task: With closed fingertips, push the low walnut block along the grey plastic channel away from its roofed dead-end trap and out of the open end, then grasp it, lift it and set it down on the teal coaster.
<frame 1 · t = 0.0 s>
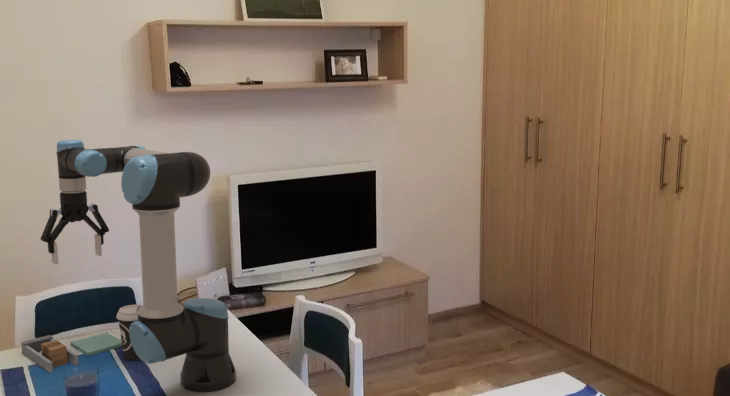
hand: (77, 259, 216), 28 cm above the table, fingers open, 13 cm apart
grey channel: (49, 358, 211), on the table
teal coaster: (97, 345, 221), on the table
coffee cup: (135, 356, 214), on the table
walnut block: (54, 362, 208), resting in grey channel
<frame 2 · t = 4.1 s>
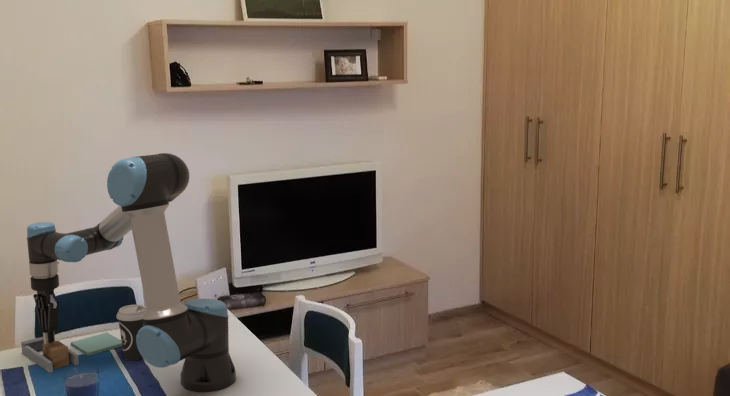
hand: (50, 351, 210), 3 cm above the table, fingers closed
walnut block: (56, 363, 208), resting in grey channel, touching gripper
everything else where it was.
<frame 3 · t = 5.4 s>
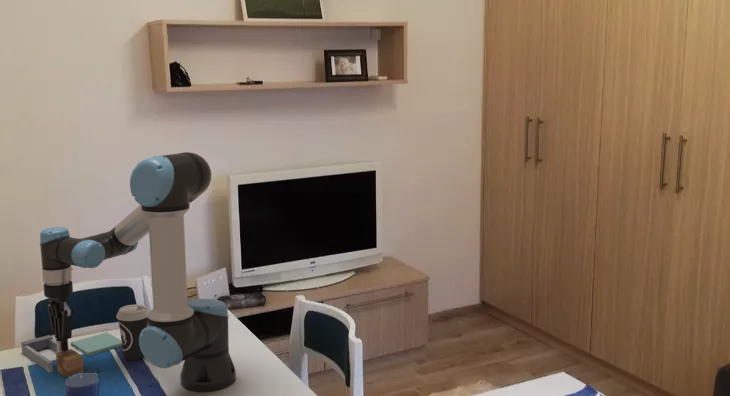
hand: (63, 359, 204), 3 cm above the table, fingers closed
walnut block: (70, 372, 201), on the table, touching gripper
everything else where it was.
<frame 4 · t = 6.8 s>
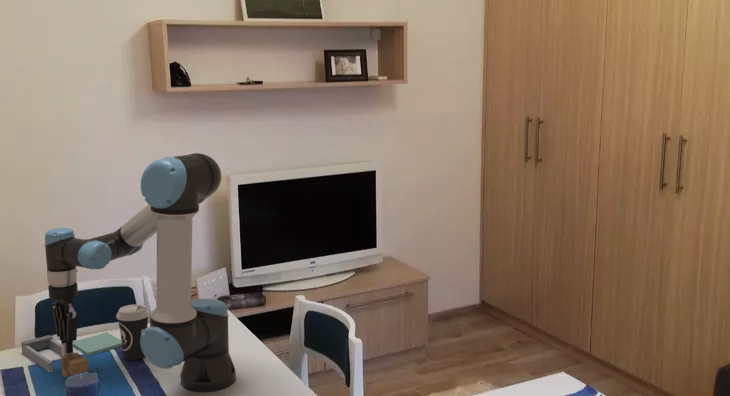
hand: (68, 362, 201), 3 cm above the table, fingers closed
walnut block: (75, 376, 199), on the table, touching gripper
everything else where it was.
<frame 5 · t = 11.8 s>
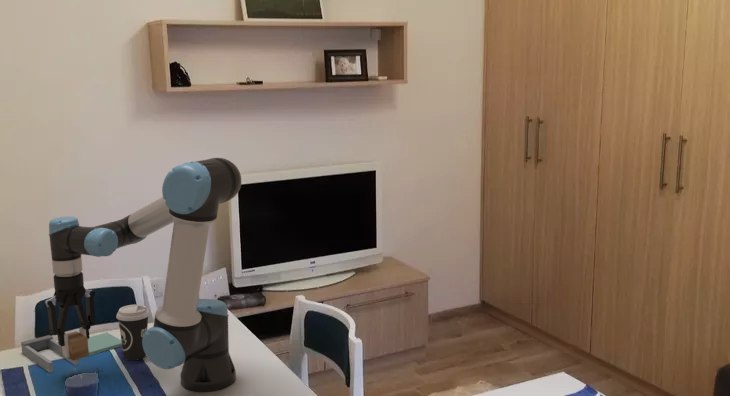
hand: (75, 353, 198), 7 cm above the table, fingers closed on walnut block, 4 cm apart
walnut block: (75, 354, 198), point 6 cm above the table, touching gripper
everything else where it was.
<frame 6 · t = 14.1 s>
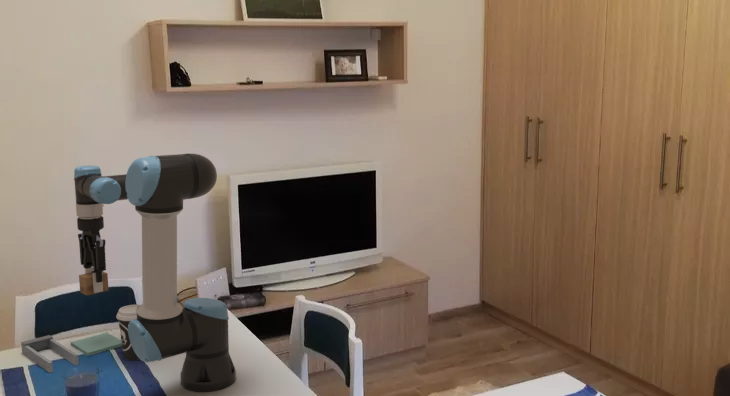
hand: (94, 289, 218), 18 cm above the table, fingers closed on walnut block, 4 cm apart
walnut block: (94, 291, 218), point 18 cm above the table, touching gripper
everything else where it was.
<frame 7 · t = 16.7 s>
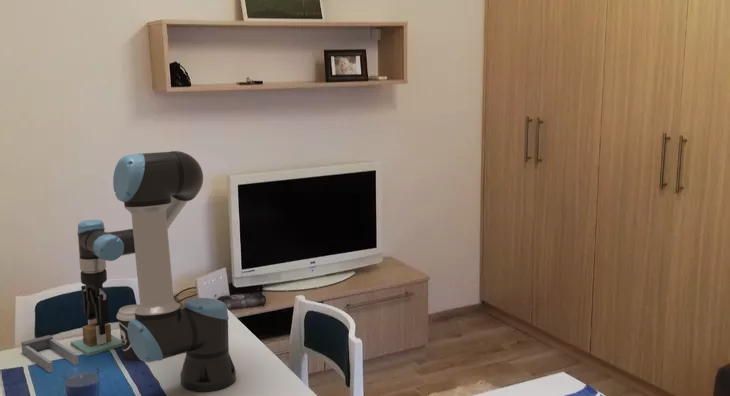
hand: (97, 341, 221), 1 cm above the table, fingers closed on walnut block, 4 cm apart
walnut block: (97, 342, 221), point 1 cm above the table, touching gripper, teal coaster
everything else where it was.
when the fingers open (1 cm above the table, at t = 16.9 s): walnut block stays where it is, resting on teal coaster.
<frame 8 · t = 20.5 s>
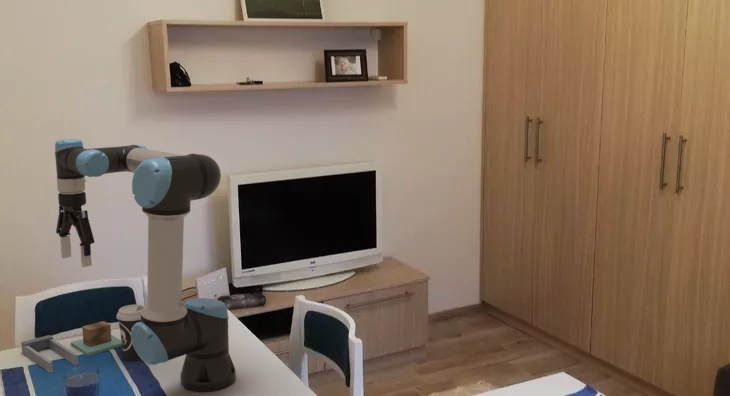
hand: (76, 261, 211), 29 cm above the table, fingers open, 13 cm apart
walnut block: (97, 342, 221), point 1 cm above the table, touching teal coaster
everything else where it was.
at the end: walnut block inside the target area on the teal coaster (0.1 cm from its centre), point 1.0 cm above the teal coaster's base; walnut block tilted 0°; the gripper is holding nothing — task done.
